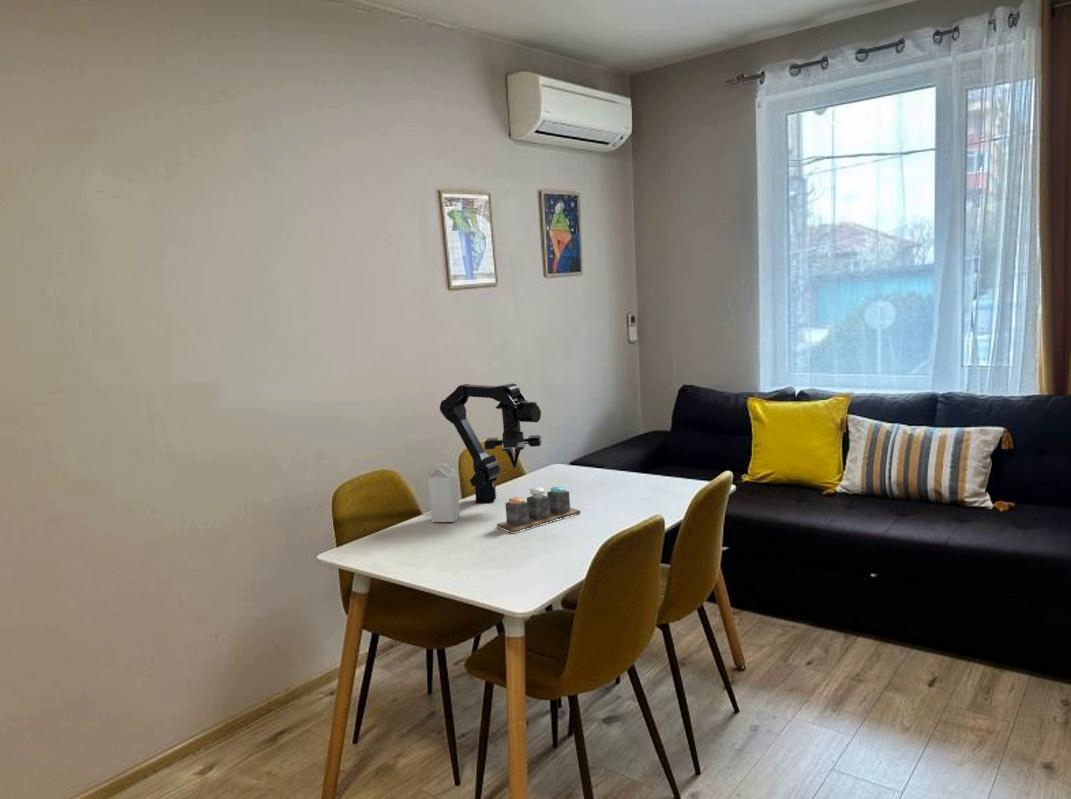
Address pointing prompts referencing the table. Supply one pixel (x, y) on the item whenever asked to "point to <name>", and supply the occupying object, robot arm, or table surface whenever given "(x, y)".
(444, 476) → the milk carton
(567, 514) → the button stand
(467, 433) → the robot arm
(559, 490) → the teal button
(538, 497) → the white button
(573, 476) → the table surface
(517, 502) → the peach ball
